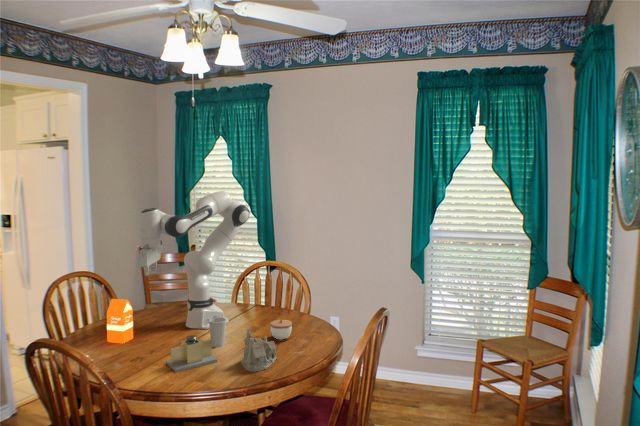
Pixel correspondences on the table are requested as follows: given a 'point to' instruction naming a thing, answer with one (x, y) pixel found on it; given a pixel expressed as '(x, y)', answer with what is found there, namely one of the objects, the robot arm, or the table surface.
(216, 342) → the cup
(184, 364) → the board
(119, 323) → the orange juice
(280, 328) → the lidded jar
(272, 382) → the table surface
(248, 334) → the ceramic cottage
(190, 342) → the hinge pin
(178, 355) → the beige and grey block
